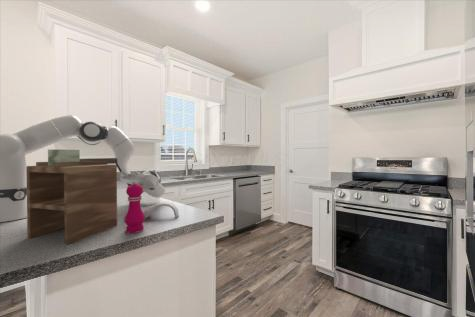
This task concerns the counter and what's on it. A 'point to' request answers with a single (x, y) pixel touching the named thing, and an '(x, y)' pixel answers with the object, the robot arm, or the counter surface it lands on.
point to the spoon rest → (150, 209)
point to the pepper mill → (134, 209)
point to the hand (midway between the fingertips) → (129, 172)
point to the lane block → (72, 157)
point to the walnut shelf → (71, 198)
